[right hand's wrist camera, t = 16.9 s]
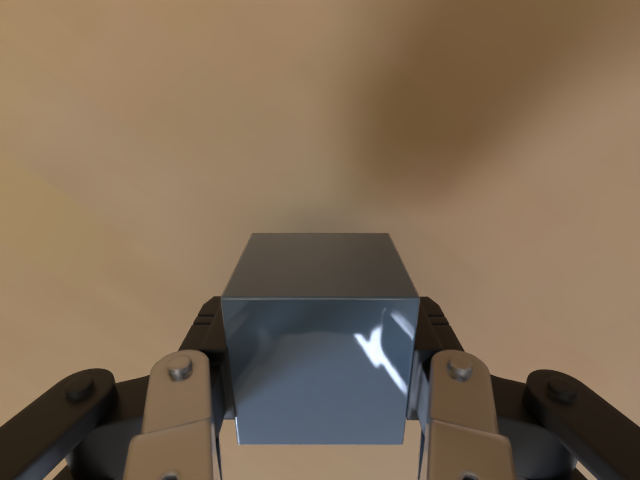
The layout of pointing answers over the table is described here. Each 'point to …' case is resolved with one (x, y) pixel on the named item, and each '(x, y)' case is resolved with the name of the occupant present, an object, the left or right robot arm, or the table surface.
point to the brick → (320, 339)
